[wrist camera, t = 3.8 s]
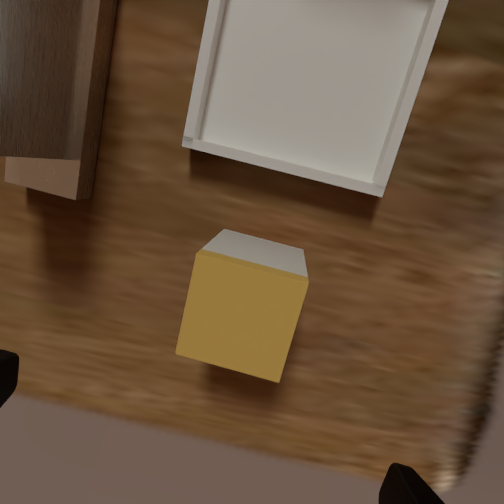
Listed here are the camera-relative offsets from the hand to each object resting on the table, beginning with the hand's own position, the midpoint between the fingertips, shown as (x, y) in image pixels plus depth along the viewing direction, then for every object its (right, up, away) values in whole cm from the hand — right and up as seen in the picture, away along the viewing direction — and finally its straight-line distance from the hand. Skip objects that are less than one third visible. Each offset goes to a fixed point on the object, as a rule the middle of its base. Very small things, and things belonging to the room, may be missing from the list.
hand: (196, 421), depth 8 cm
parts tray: (+4, +13, +9) cm, 16 cm away
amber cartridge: (+1, +3, +12) cm, 12 cm away
